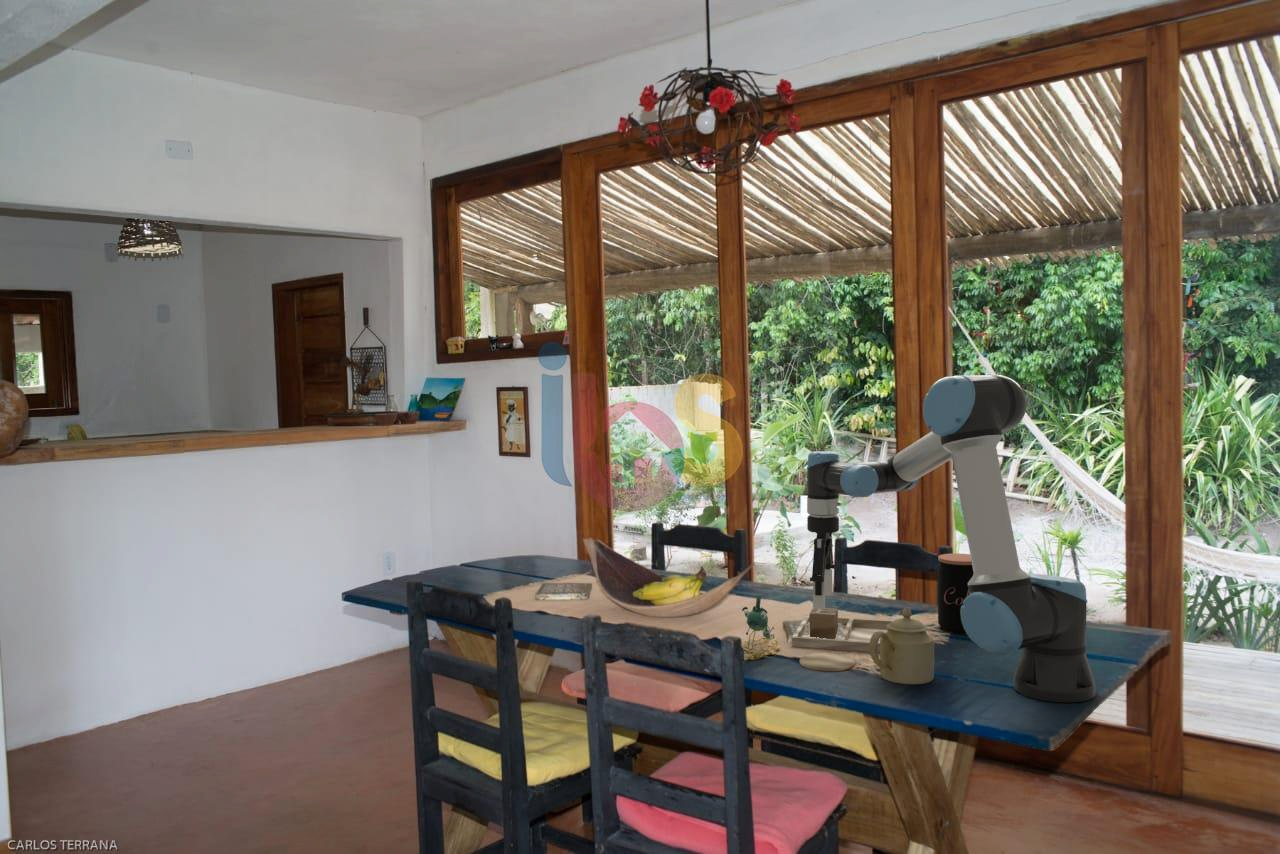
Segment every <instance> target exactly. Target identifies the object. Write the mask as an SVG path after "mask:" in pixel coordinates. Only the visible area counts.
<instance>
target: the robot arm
mask: <svg viewBox="0 0 1280 854" xmlns="http://www.w3.org/2000/svg"><path fill="white" fill-rule="evenodd" d="M1027 404H1028V403H1027V397H1026V394H1025V392H1024V390H1023V389H1022V386H1021V385H1020V384H1019V383H1017V382H1016V381H1015V380H1014V379H1012V378H1010V377H1008V376H1005V375H1001V374H1000V375H999V374H989V375H982V374H981V375H980V374H979V375H977V374H976V375H975V374H972V375H971V374H969V375H967V374H957V375H953V376H952V375H951V376H945V377H943V378H940V379H938V380H937V381H935V382H934V383H933V384H932V385H931V386H930V387H929V390H928V392H927V393H926V394H925V396H924V400H923V405H922V414H923V415H922V416H923V421H924V423H925V425H926V427H927V429H930V432H928V433H927V434H925V435H924V436H922V437H921V438H919V439H918V440H916V441H915V442H913V443H911V444H910V445H908V446H907V447H904V449H902V450H900V451H899V452H898V453H896V454H894V455H893V456H891V457H890V458H888V459H886V460H877V461H876V460H875V461H864V462H863V461H861V462H843V461H841V460H840V455H839V453H838V452H837V451H829V450H818V451H811V452H809V453H808V455H807V466H806V472H807V473H806V475H807V476H806V478H807V485H806V486H807V496H806V497H807V498H806V502H807V503H806V509H807V510H806V513H807V514H808V516H807V520H806V521H807V523H806V524H807V525H806V527H807V528H806V529H807V531H809V532H810V533H816V537H815V538H814V539H813V555H812V556H813V559H812V574H811V577H809V582H812V609H813V608H817V609H825V608H826V596H827V597H828V596H829V597H832V596H833V570H835V569H836V564H835V562H834V551H833V536H832V535H833V534H834V533H837V532H838V531H840V517H839V515H838V514H839V513H840V511H839V510H840V509H839V507H841V506H842V502H841V501H839V498H840V495H844V496H845V495H846V496H850V497H852V498H869V497H870V496H871V495H873V494H881V493H882V494H883V493H894V492H897V493H900V492H904V491H907V490H908V491H909V490H912V489H913V488H915V487H916V486H917V484H918V482H919V479H921V478H922V477H924V476H925V475H927V474H928V473H930V472H932V471H934V470H936V469H937V468H939V467H941V466H943V465H945V464H946V463H947V462H949V461H951V460H952V465H953V472H954V476H955V480H956V481H955V482H956V487H957V492H958V497H959V502H960V507H961V512H962V517H963V522H964V523H963V524H964V528H965V534H966V538H967V539H966V540H967V545H968V549H969V554H970V556H971V561H972V566H973V571H974V574H973V577H972V578H971V579H970V581H969V582H968V588H969V594H970V595H969V596H967V597H966V598H965V600H964V601H963V605H962V606H961V621H962V624H963V627H964V629H965V631H966V633H965V634H967V636H968V638H970V640H971V641H972V642H973V643H975V644H976V645H977V647H978V648H980V649H981V650H984V651H986V652H990V653H1002V652H1005V653H1006V652H1008V653H1009V652H1010V653H1011V652H1015V651H1016V650H1019V649H1022V652H1021V655H1020V657H1019V660H1018V662H1017V663H1018V664H1017V666H1016V668H1015V672H1014V674H1013V689H1014V690H1015V691H1016V692H1018V693H1019V694H1021V695H1024V696H1026V697H1029V698H1032V699H1034V700H1041V701H1048V702H1052V703H1053V702H1054V703H1081V702H1082V703H1083V702H1086V701H1090V700H1092V699H1094V698H1096V697H1095V696H1096V682H1095V679H1094V676H1093V672H1092V670H1091V666H1090V663H1089V661H1088V657H1087V604H1088V599H1087V588H1086V586H1085V584H1084V583H1083V582H1081V581H1080V580H1077V579H1073V578H1070V577H1065V576H1059V575H1051V574H1044V573H1043V574H1042V573H1027V572H1025V571H1024V570H1023V569H1022V568H1021V567H1020V561H1019V558H1018V557H1019V556H1018V552H1017V546H1016V541H1015V536H1014V531H1013V525H1012V521H1011V515H1010V511H1009V506H1008V501H1007V496H1006V490H1005V485H1004V481H1003V475H1002V470H1001V465H1000V459H999V455H998V450H997V446H998V444H999V443H1000V442H1001V440H1002V439H1003V435H1005V434H1007V433H1008V432H1009V431H1012V429H1014V428H1015V427H1017V426H1018V425H1019V424H1020V423H1021V422H1022V420H1023V418H1024V417H1025V415H1026V412H1027V407H1028V405H1027Z"/></svg>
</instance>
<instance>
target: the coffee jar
mask: <svg viewBox="0 0 1280 854" xmlns="http://www.w3.org/2000/svg"><path fill="white" fill-rule="evenodd" d="M937 559H938V562H939V564H938V567H937V624H938V625H939V627H940V629H941V630H943V631H945V632H949V633H953V634H954V633H955V634H967V633H966V631H965V629H964V627H963V624H962V621H961V606H962V605H963V601H964V600H965V598H966V597H967V596H969V595H970V594H969V588H968V582H969V581H970V579H971V578H972V577H973V574H974V571H973V566H972V561H971V556H970V553H969V554H968V553H944V554H943V553H942V554H940V555H938V557H937Z"/></svg>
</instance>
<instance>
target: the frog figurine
mask: <svg viewBox="0 0 1280 854" xmlns="http://www.w3.org/2000/svg"><path fill="white" fill-rule="evenodd" d="M761 599H762V595H761V593H757V594H756V599H755V601H756V602H755V605H754V606H753V607H752V609H751V611H749V607H748V606H743V608H742V609H741V611H742V612H744V613H743V614H744V616H745V618H746V624H747V626H748V629H747V631H746V632H745V634H746V636H748V635H749V636H748V640H747V641H743V642H742V643H741V644H743V651H744V662H747V661H748V660H751V661H752V660H753V661H755V660H760V659H761V658H763V657H764V658H765V656H773V655H776V654H777V651H778V650H779V649H780V648H781V645H780V644H779V641H778V640H777V639H778V637H775V634H773V633H771V632H772V631H773V630H775V627H774V626H772V627H771V629H770V627H769V625H768V623H769V622H768V621H769V619H768V615H767V614H768V611H767V610H766V609H765V608H763V607H762V606H761ZM750 629H751V630H753V631H752V632H751V633H750V634H749V631H750ZM756 632H762V635H763V637H761V638H758V637H755V636H756ZM752 634H753V638H752V639H751V636H752Z"/></svg>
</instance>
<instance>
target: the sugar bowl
mask: <svg viewBox="0 0 1280 854" xmlns="http://www.w3.org/2000/svg"><path fill="white" fill-rule="evenodd" d="M901 614H902V617H901V618H897V619H894V621H892V622H891V623H889V624H888V625H887V628H888V631H887V632H886V633H885V632H882V631H877V632H875V633H874V634H873V635H872V636H871V639H870V644H869V650H870V652H869V655H870V657H871V660H872V661H873V663H874V664H875V665H876V666H877V668H879V669H880V677H881V678H883V680H885V681H888V682H891V683H896V684H901V685H922V684H928V683H931V682H932V681H933V680H934V679H935V678H934V677H935V674H934V673H935V640H934V638H933V636H931V635H929V634H928V633H927V630H928V626H926V625H925V624H923V623H922V622H921V621H919V620H917V619H914V618H911V616H912V614H913V613H912V610H911V609H910V607H908V606H905V607H904V608H903V609H902V612H901ZM879 639H880V652H877V644H878V641H879Z"/></svg>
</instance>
